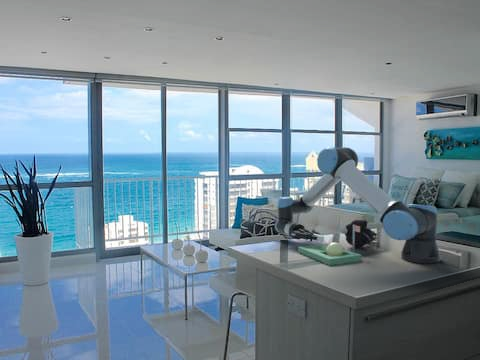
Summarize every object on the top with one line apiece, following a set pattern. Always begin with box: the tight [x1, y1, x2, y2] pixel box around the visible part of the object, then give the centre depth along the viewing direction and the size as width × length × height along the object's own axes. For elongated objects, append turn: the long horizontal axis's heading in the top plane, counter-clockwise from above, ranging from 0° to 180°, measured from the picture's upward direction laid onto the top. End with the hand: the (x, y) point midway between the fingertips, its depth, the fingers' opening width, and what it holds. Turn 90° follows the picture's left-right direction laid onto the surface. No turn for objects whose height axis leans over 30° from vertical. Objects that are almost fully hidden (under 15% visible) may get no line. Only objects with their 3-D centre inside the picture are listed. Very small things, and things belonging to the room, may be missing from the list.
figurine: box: [340, 219, 382, 249], centre depth 199 cm, size 14×13×30 cm
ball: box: [326, 241, 344, 257], centre depth 177 cm, size 7×7×7 cm
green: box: [297, 243, 363, 266], centre depth 181 cm, size 24×16×2 cm, turn 23°
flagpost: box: [352, 225, 360, 253], centre depth 178 cm, size 4×1×14 cm, turn 23°
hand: (322, 239), depth 184 cm, fingers closed
